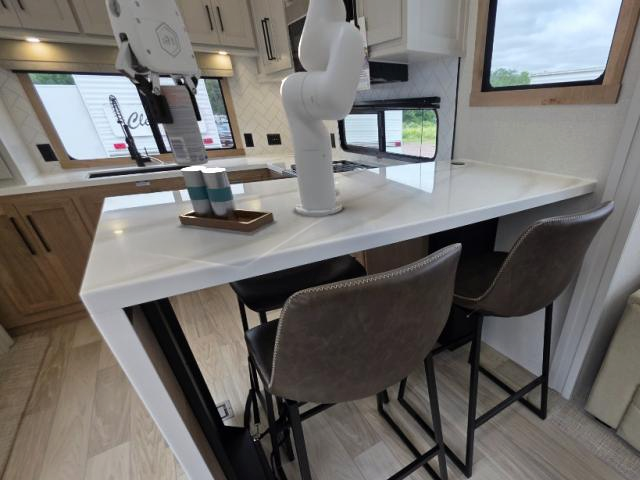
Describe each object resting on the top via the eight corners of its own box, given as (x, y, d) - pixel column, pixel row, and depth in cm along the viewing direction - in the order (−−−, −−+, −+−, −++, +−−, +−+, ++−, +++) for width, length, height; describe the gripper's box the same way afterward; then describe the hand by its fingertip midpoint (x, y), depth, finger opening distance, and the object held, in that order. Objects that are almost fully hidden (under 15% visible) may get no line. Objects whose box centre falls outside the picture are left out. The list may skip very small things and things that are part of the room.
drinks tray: (210, 215, 86) (207, 205, 85) (274, 222, 82) (272, 212, 81) (181, 226, 79) (178, 215, 77) (250, 234, 74) (247, 223, 73)
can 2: (226, 218, 83) (212, 167, 77) (243, 220, 82) (231, 168, 75) (211, 224, 79) (195, 171, 72) (229, 226, 77) (214, 172, 71)
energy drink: (198, 160, 63) (175, 85, 57) (215, 162, 61) (193, 85, 55) (170, 164, 60) (142, 85, 53) (187, 167, 57) (160, 85, 51)
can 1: (208, 216, 84) (193, 166, 78) (224, 218, 83) (211, 167, 77) (192, 222, 80) (175, 169, 74) (209, 224, 79) (193, 171, 73)
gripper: (92, -44, 39) (153, 127, 49) (201, -9, 53) (232, 119, 63) (47, -38, 41) (115, 126, 51) (164, -5, 55) (199, 118, 65)
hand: (179, 121), depth 57 cm, fingers closed on energy drink, 5 cm apart
